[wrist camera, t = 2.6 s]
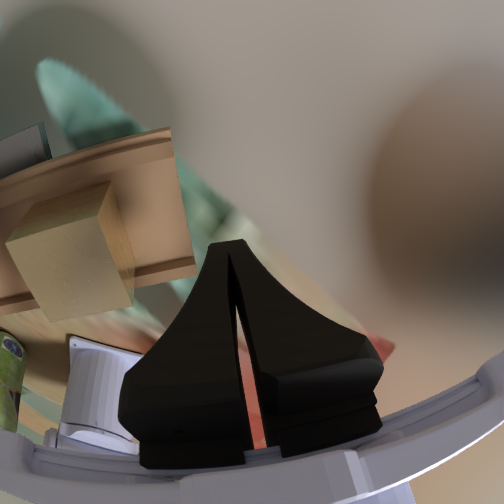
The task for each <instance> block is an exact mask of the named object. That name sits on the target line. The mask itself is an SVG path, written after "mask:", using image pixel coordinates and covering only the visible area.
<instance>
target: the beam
mask: <svg viewBox="0 0 504 504" xmlns="http://www.w3.org/2000/svg"><path fill="white" fill-rule="evenodd" d="M108 181H112V183H113V187H114V191H115V194H116V198H117V201H118V205H119V208H120V211H121V215H122V218H123V221H124V225H125V228H126V231H127V234H128V237H129V240H130V243H131V246H132V249H133V252H134V255H135V258H136V264H135V278H134V288H139V287H143V286H149V285H153V284H158V283H163V282H167V281H172V280H177V279H181V278H186V277H191V276H195V275H198V273H197V268H196V263H195V258H194V253H193V249H192V244H191V240H190V235H189V230H188V225H187V220H186V215H185V210H184V205H183V200H182V195H181V190H180V184H179V179H178V173H177V167H176V162H175V156H174V150H173V144H172V138H171V131H170V127H166V128H160V129H156V130H151V131H147V132H142V133H138V134H134V135H130V136H126V137H122V138H118V139H114V140H111V141H107V142H103V143H100V144H96V145H93V146H90V147H86V148H83V149H80V150H77V151H74V152H71V153H68V154H65V155H62V156H59V157H56V158H53V159H50V160H47V161H45V162H42V163H39V164H37V165H34V166H32V167H29V168H26V169H24V170H22V171H19V172H17V173H14V174H12V175H10V176H7V177H5V178H3V179H0V316H1V315H6V314H11V313H17V312H22V311H27V310H32V309H37V308H40V306H39V305H38V303H37V301H36V300H35V298H34V296H33V295H32V293H31V291H30V290H29V288H28V286H27V285H26V283H25V281H24V279H23V277H22V276H21V274H20V272H19V270H18V268H17V266H16V265H15V263H14V261H13V259H12V257H11V255H10V253H9V251H8V249H7V247H6V245H5V242H6V241H7V239H8V238H9V236H10V235H11V234H12V232H13V231H14V229H15V228H16V227H17V225H18V224H19V222H20V221H21V220H22V218H23V217H24V216H25V214H26V213H27V212H28V210H29V209H30V208H31V206H32V205H33V204H36V203H39V202H42V201H45V200H48V199H51V198H54V197H57V196H60V195H63V194H66V193H70V192H73V191H76V190H80V189H83V188H86V187H90V186H93V185H97V184H101V183H104V182H108Z"/></svg>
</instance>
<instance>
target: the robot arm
mask: <svg viewBox="0 0 504 504" xmlns="http://www.w3.org/2000/svg"><path fill="white" fill-rule="evenodd" d="M236 307H237V310H238V314H239V318H240V321H241V325H242V329H243V332H244V336H245V339H246V343H247V346H248V350H249V354H250V359H251V364H252V369H253V374H254V380H255V386H256V391H257V396H258V402H259V407H260V413H261V419H262V424H263V429H264V435H265V440H266V446H267V448H262V449H256V450H255V449H254V444H253V439H252V433H251V428H250V422H249V417H248V411H247V405H246V399H245V394H244V388H243V382H242V375H241V369H240V363H239V355H238V339H237V319H236ZM383 370H384V366H383V363H382V361H381V359H380V357H379V355H378V353H377V351H376V350H375V348H374V347H373V345H372V344H371V342H370V341H369V339H368V338H367V337H366V336H365V335H363V334H360V333H358V332H356V331H353V330H351V329H349V328H346V327H344V326H342V325H340V324H338V323H336V322H334V321H332V320H330V319H328V318H326V317H325V316H323V315H321V314H320V313H318V312H317V311H315V310H314V309H312V308H310V307H309V306H307V305H306V304H305V303H303V302H302V301H301V300H299V299H298V298H297V297H295V296H294V295H293V294H292V293H290V292H289V291H288V290H287V289H286V288H285V287H284V286H282V285H281V284H280V283H279V282H278V281H277V280H276V279H275V278H274V277H273V276H272V275H271V274H270V273H269V272H268V270H267V269H266V268H265V267H264V266H263V265H262V264H261V262H260V261H259V260H258V259H257V258H256V256H255V255H254V254H253V252H252V251H251V249H250V248H249V246H248V245H247V243H246V241H245V240H243V239H239V240H232V241H225V242H218V243H211V244H210V245H209V246H208V251H207V255H206V258H205V261H204V264H203V266H202V269H201V271H200V274H199V276H198V278H197V281H196V283H195V285H194V287H193V289H192V291H191V293H190V295H189V297H188V298H187V300H186V302H185V304H184V305H183V307H182V308H181V310H180V312H179V313H178V315H177V316H176V318H175V319H174V320H173V322H172V323H171V325H170V326H169V327H168V329H167V330H166V331H165V333H164V334H163V335H162V336H161V337H160V339H159V340H158V341H157V342H156V343H155V344H154V345H153V347H152V348H151V349H150V350H149V351H148V352H147V353H146V354H145V355H141V354H137V353H133V352H129V351H125V350H121V349H117V348H114V347H110V346H106V345H103V344H99V343H96V342H92V341H89V340H85V339H82V338H79V337H76V336H71V337H70V375H69V379H68V384H67V388H66V393H65V398H64V403H63V409H62V415H61V421H60V424H59V428H58V431H57V429H55V428H50V430H47V431H45V437H44V443H43V445H38V444H34V443H33V442H32V441H31V440H29V439H28V438H26V437H25V436H23V435H20V434H18V433H14V432H10V431H6V430H3V429H0V490H2V491H5V492H7V493H9V494H12V495H14V496H16V497H19V498H21V499H24V500H27V501H29V502H32V503H35V504H416V502H415V499H414V496H413V494H412V490H411V487H410V484H409V482H408V481H410V480H412V479H414V478H416V477H418V476H420V475H422V474H424V473H426V472H428V471H430V470H432V469H433V468H435V467H437V466H439V465H441V464H442V463H444V462H446V461H448V460H449V459H451V458H453V457H455V456H456V455H458V454H460V453H461V452H463V451H464V450H466V449H467V448H469V447H470V446H472V445H474V444H475V443H476V442H478V441H479V440H481V439H482V438H484V437H485V436H487V435H488V434H489V433H491V432H492V431H493V430H495V429H496V428H498V427H499V426H500V425H501V424H503V423H504V350H503V351H502V352H500V353H499V354H497V355H495V356H494V357H492V358H490V359H489V360H487V361H486V362H485V363H484V364H483V365H482V366H481V367H480V368H479V369H478V371H477V372H476V374H475V375H473V376H472V377H470V378H468V379H466V380H464V381H462V382H460V383H459V384H457V385H455V386H453V387H451V388H449V389H447V390H445V391H443V392H441V393H439V394H437V395H434V396H432V397H430V398H428V399H426V400H424V401H421V402H419V403H417V404H414V405H412V406H410V407H407V408H405V409H402V410H400V411H397V412H395V413H392V414H390V415H387V416H384V417H382V418H380V416H379V414H378V412H377V409H376V407H375V404H376V403H377V399H376V397H375V394H374V392H373V390H374V389H375V387H376V385H377V383H378V381H379V380H380V378H381V376H382V373H383ZM133 436H134V437H135V438H136V439H137V440H138V441H140V448H139V450H140V451H139V452H138V444H136V443H133V441H132V440H133ZM174 480H180V481H179V482H175V481H174Z"/></svg>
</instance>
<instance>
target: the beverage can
mask: <svg viewBox="0 0 504 504" xmlns="http://www.w3.org/2000/svg"><path fill="white" fill-rule="evenodd" d="M26 361H27V354H26V351H25V349H24V348H23V346H22V345H21V344H20V343H19V342H18V340H17V339H15V338H14V337H13V336H11V335H10V334H8V333H5V332H2V331H0V429H3V430H6V431H10V432H14V433H15V432H16V431H17V424H18V414H19V405H20V397H21V390H22V383H23V377H24V371H25V366H26Z"/></svg>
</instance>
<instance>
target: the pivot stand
mask: <svg viewBox="0 0 504 504" xmlns="http://www.w3.org/2000/svg"><path fill="white" fill-rule="evenodd" d="M50 159H52V155H51V151H50V148H49V144H48V140H47V136H46V131H45V127H44V123H43V122H41V123H39V124H36V125H34V126H31V127H29V128H27V129H24V130H22V131H20V132H18V133H15V134H13V135H11V136H9V137H7V138H5V139H2V140H0V179H3V178H5V177H7V176H10V175H12V174H14V173H17V172H19V171H22V170H24V169H26V168H29V167H32V166H34V165H37V164H39V163H42V162H45V161H47V160H50Z"/></svg>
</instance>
